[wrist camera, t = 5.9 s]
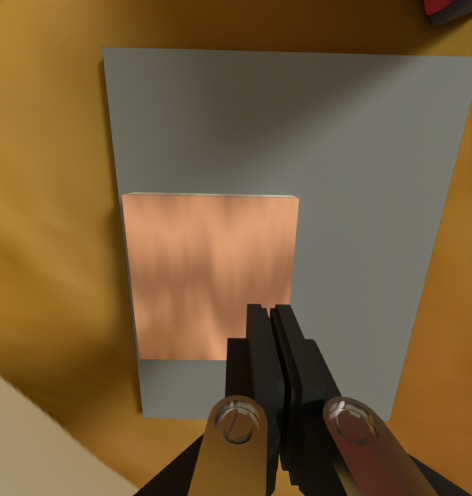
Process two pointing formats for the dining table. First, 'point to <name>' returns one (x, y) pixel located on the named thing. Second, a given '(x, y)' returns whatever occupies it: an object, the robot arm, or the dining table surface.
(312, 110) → the mat
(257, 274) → the tile
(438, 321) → the dining table surface
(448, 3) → the grey and red box
